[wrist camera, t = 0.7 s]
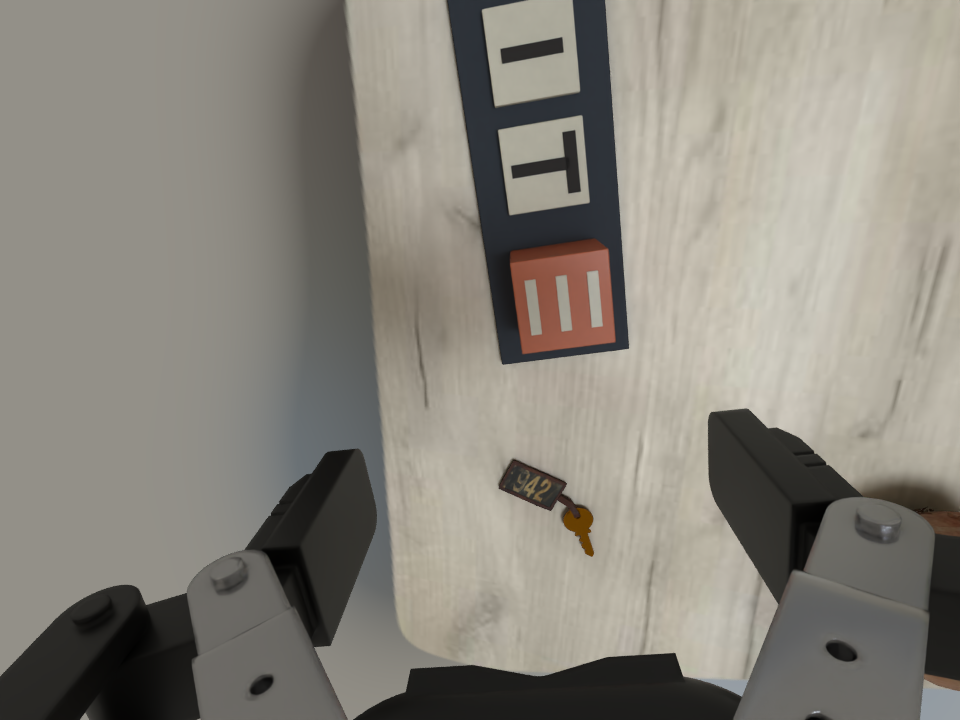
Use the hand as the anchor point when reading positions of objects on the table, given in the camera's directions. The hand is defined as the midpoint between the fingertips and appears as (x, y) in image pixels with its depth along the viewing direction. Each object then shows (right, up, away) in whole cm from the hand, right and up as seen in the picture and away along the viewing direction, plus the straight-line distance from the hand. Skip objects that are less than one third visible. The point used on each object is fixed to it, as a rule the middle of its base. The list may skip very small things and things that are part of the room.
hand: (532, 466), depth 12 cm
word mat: (+2, +11, +15) cm, 19 cm away
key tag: (+3, -7, +21) cm, 22 cm away
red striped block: (+3, +6, +16) cm, 17 cm away
